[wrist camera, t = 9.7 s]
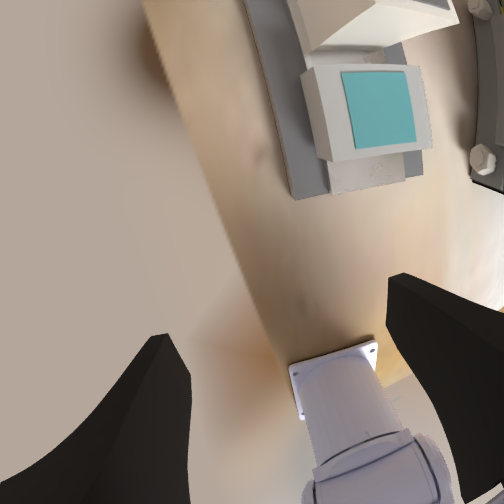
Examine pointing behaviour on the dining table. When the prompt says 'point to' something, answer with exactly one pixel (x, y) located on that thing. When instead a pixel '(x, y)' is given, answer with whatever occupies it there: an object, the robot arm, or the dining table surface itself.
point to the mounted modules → (366, 110)
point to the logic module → (372, 22)
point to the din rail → (356, 170)
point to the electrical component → (489, 94)
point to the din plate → (299, 98)
